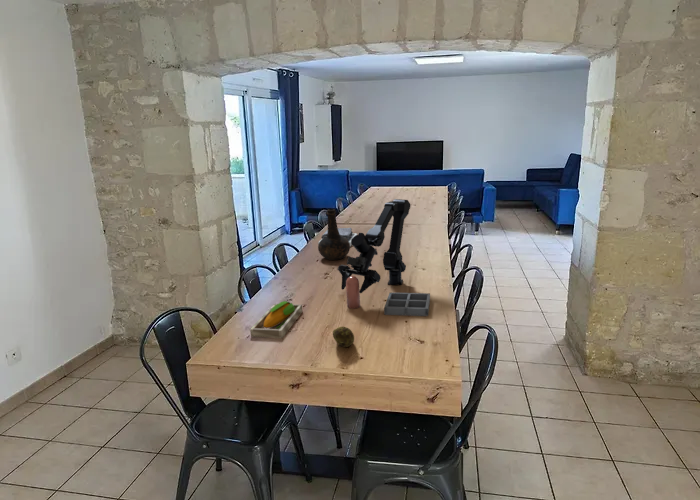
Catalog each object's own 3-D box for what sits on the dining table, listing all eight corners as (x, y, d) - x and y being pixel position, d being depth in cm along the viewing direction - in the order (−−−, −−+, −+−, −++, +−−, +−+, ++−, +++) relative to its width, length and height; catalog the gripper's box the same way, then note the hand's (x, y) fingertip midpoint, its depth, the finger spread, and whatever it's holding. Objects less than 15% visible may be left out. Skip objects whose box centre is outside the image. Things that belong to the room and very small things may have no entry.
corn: (297, 297, 193) (272, 316, 175) (300, 314, 195) (275, 335, 177) (281, 296, 196) (255, 315, 178) (284, 314, 198) (258, 334, 180)
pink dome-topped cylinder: (348, 303, 204) (347, 274, 201) (361, 303, 203) (359, 274, 200) (346, 308, 199) (344, 278, 196) (358, 308, 198) (357, 278, 195)
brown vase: (351, 253, 280) (349, 205, 273) (348, 262, 263) (346, 211, 255) (321, 254, 282) (318, 206, 275) (316, 263, 265) (312, 212, 257)
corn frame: (274, 310, 201) (274, 303, 200) (302, 311, 198) (301, 304, 198) (251, 336, 177) (250, 329, 176) (282, 338, 175) (281, 330, 174)
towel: (326, 239, 315) (325, 227, 313) (354, 238, 312) (353, 227, 310) (321, 245, 301) (320, 232, 299) (350, 244, 298) (349, 232, 296)
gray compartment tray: (389, 299, 207) (389, 292, 206) (430, 300, 203) (429, 293, 202) (384, 314, 191) (384, 307, 190) (427, 316, 187) (427, 308, 186)
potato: (359, 338, 172) (358, 317, 170) (352, 355, 160) (351, 333, 157) (337, 337, 173) (335, 316, 171) (328, 353, 161) (326, 331, 159)
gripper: (338, 246, 204) (323, 278, 198) (375, 251, 193) (360, 285, 187) (351, 259, 212) (336, 290, 206) (386, 265, 201) (373, 298, 195)
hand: (351, 291), depth 198 cm, fingers open, 9 cm apart
